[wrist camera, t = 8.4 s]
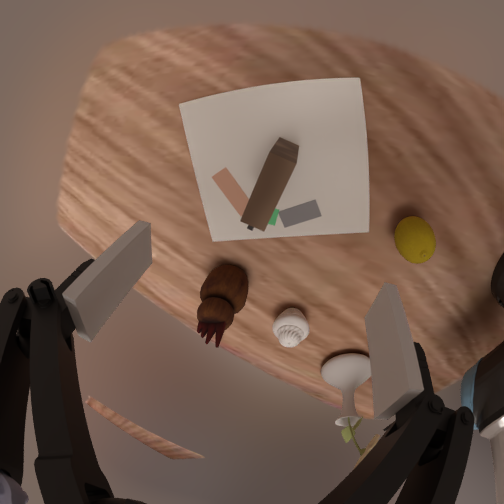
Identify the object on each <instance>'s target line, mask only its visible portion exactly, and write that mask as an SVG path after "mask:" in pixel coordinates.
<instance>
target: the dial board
mask: <svg viewBox="0 0 504 504" xmlns="http://www.w3.org/2000/svg"><path fill="white" fill-rule="evenodd" d="M179 107H180V111H181V116H182V120H183V125H184V129H185V133H186V138H187V142H188V146H189V150H190V155H191V159H192V163H193V167H194V171H195V175H196V179H197V183H198V187H199V191H200V195H201V199H202V203H203V207H204V210H205V214H206V218H207V222H208V226H209V229H210V233H211V237H212V240H213V242H214V241H228V240H243V239H259V238H274V237H291V236H308V235H325V234H344V233H363V232H369V164H368V147H367V133H366V122H365V113H364V104H363V96H362V89H361V82H360V78H329V79H313V80H301V81H292V82H283V83H275V84H268V85H262V86H256V87H250V88H244V89H239V90H234V91H229V92H224V93H220V94H215V95H211V96H207V97H203V98H199V99H195V100H192V101H188V102H184V103H181V104H179ZM279 137H281V138H283V139H285V140H287V141H290V142H292V143H294V144H296V145H299V151H298V158H297V164H296V166H295V168H294V170H293V172H292V175H291V177H290V179H289V181H288V183H287V185H286V187H285V189H284V191H283V193H282V195H281V198H280V200H279V202H278V204H277V206H276V208H275V210H274V212H273V214H272V216H271V218H270V221H269V223H268V225H267V227H266V229H265V231H264V232H263V231H261V230H259V229H257V228H253V231H251V230H249V229H247V227H248V225H247V224H245V223H243V222H241V221H240V220H241V217H242V215H243V213H244V210H245V208H246V206H247V203H248V201H249V198H250V196H251V194H252V191H253V189H254V187H255V184H256V182H257V179H258V177H259V175H260V172H261V170H262V168H263V165H264V163H265V161H266V158H267V156H268V154H269V152H270V150H271V149H272V147H273V146H274V144H275V143H276V141H277V140H278V139H279Z"/></svg>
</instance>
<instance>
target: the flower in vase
mask: <svg viewBox="0 0 504 504" xmlns="http://www.w3.org/2000/svg"><path fill="white" fill-rule="evenodd" d="M321 375H322V377H323V379H324V380H325V381H326V382H327V383H328V384H330V385H332V386H334V387H336V388H338V389H340V390H341V391H342V394H343V405H342V410H341V414H340V416H339V417H338V419H337V420H336V421H335V423H336V425H339V426H347V427H346V428H345V429H343V430H342V436H343V438H344V440H345V442H346V443H347V442H348V441H349V440H350V439H351V438H352V439H353V441H354V443H355V445H356V447H357V448H358V450H359V452H360V455H361V456H360V458H359V460H358V461H357V463H356V465H355V467H356V466H357V465H358V464H359V463H360V462H361V461H362V460H363V459H364V458H365V456H366V455H367V454H368V453H369V452H370V450H371V449H372V448H373V447H374V446H375V445H376V443H377V442H378V438H379V437H380V435H377V434H376V435H375V436H374V437H373V439H372V440H371V441H370V443H369V444H368V446H367V447H366V448H365V449H360V448H359V446H358V444H357V442H356V441H355V438H354V435H355V431H354V430H355V429H356V428H357V427H358V426H359V424H360V422H361V421H362V418H363V416H362V418H361V417H360V416H359V415H358V414H357V412H356V409H355V404H354V392H355V389H356V388H357V387H358V386H360V385H361V384H362V383H364V382H365V381H366V380H367V379H368V378H369V377H370V376H371V366H370V358H368V357H367V356H365V355H362V354H356V353H348V354H342V355H338V356H335V357H333V358H331V359H330V360H328V361H327V362H326V363H325V364H324V365H323V367H322V369H321ZM353 425H354V427H353V428H352V427H351V426H353ZM355 467H354V469H355Z"/></svg>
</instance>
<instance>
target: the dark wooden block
mask: <svg viewBox="0 0 504 504" xmlns="http://www.w3.org/2000/svg"><path fill="white" fill-rule="evenodd" d="M298 151H299V145H296V144H294V143H292V142H290V141H287V140H285V139H283V138H281V137H279V139H278V140H277V141H276V143H275V144H274V146H273V147H272V149H271V150H270V152H269V154H268V156H267V158H266V161H265V163H264V165H263V168H262V170H261V172H260V175H259V177H258V179H257V182H256V184H255V187H254V189H253V191H252V194H251V196H250V198H249V201H248V203H247V206H246V208H245V210H244V213H243V215H242V217H241V220H240V221H241V222H243V223H245V224H247V225H248V227H247V229H249V230H251V231H253V228H257V229H259V230H261V231H263V232H264V231H265V229H266V227H267V225H268V223H269V221H270V218H271V216H272V214H273V212H274V210H275V208H276V206H277V204H278V202H279V200H280V198H281V195H282V193H283V191H284V189H285V187H286V185H287V183H288V181H289V179H290V177H291V175H292V172H293V170H294V168H295V166H296V164H297V158H298Z"/></svg>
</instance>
